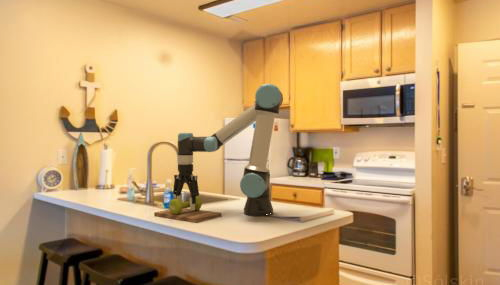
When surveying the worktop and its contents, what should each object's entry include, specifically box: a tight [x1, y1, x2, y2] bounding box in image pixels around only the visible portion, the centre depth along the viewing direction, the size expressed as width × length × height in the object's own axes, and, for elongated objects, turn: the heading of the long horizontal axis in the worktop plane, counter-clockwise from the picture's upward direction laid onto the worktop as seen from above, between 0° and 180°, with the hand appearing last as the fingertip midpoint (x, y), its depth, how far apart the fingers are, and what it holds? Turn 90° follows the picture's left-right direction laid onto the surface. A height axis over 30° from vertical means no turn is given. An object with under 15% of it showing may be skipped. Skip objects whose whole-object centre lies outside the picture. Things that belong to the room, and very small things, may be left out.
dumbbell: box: [168, 196, 202, 214], centre depth 183 cm, size 16×8×7 cm, turn 139°
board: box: [153, 207, 222, 224], centre depth 183 cm, size 28×18×2 cm, turn 56°
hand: (185, 209), depth 183 cm, fingers closed on dumbbell, 8 cm apart
